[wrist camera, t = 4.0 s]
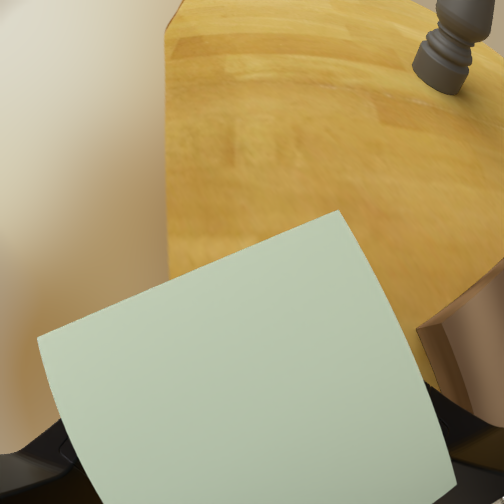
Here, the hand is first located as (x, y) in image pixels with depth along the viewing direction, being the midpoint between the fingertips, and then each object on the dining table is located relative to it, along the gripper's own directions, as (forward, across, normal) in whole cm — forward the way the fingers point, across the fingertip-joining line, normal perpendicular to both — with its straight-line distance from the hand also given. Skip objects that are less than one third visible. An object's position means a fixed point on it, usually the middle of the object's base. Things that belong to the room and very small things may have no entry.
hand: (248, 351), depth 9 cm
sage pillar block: (+4, 0, +6) cm, 7 cm away
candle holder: (+23, -22, -12) cm, 34 cm away
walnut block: (+2, -18, +8) cm, 19 cm away
